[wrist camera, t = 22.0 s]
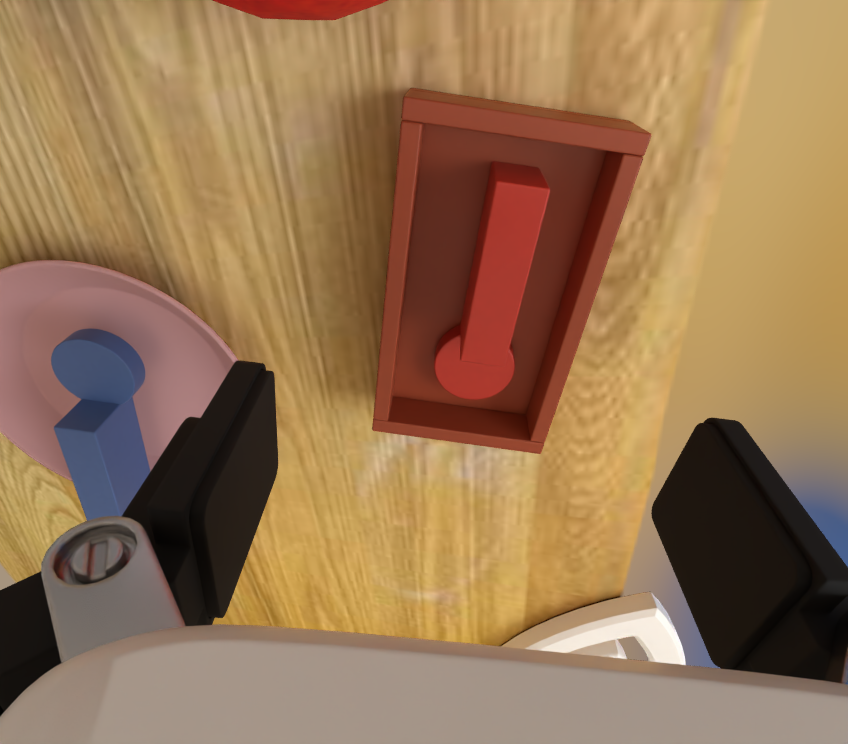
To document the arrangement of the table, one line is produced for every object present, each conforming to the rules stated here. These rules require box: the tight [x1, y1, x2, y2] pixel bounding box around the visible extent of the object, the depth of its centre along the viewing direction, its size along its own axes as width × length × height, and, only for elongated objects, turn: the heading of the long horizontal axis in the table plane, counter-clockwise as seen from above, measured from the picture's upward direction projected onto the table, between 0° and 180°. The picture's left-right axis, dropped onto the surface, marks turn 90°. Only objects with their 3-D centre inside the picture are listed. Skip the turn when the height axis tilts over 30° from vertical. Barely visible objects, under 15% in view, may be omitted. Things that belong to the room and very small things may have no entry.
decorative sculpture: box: [501, 592, 686, 665], centre depth 41 cm, size 15×29×2 cm, turn 175°
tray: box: [372, 88, 651, 454], centre depth 21 cm, size 14×8×3 cm, turn 173°
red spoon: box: [434, 161, 550, 400], centre depth 21 cm, size 10×4×3 cm, turn 173°
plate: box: [0, 260, 238, 481], centre depth 26 cm, size 14×14×2 cm
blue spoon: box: [51, 328, 151, 521], centre depth 24 cm, size 10×4×3 cm, turn 173°
